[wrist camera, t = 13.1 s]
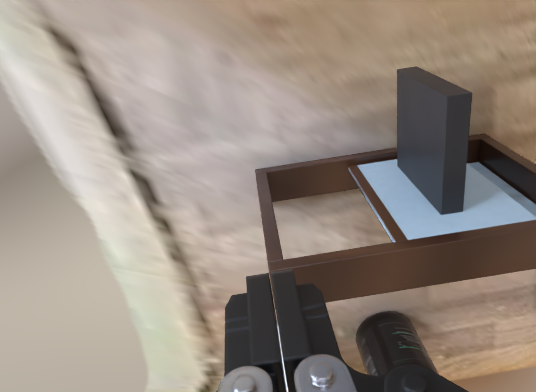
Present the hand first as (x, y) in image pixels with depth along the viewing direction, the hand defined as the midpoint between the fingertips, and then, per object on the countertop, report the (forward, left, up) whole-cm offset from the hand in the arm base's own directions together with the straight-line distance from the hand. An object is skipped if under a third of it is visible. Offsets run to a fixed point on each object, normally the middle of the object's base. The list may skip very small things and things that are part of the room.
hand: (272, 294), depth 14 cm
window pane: (+10, +9, -26) cm, 29 cm away
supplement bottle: (+32, -5, -27) cm, 42 cm away
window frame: (+13, +5, -27) cm, 30 cm away
